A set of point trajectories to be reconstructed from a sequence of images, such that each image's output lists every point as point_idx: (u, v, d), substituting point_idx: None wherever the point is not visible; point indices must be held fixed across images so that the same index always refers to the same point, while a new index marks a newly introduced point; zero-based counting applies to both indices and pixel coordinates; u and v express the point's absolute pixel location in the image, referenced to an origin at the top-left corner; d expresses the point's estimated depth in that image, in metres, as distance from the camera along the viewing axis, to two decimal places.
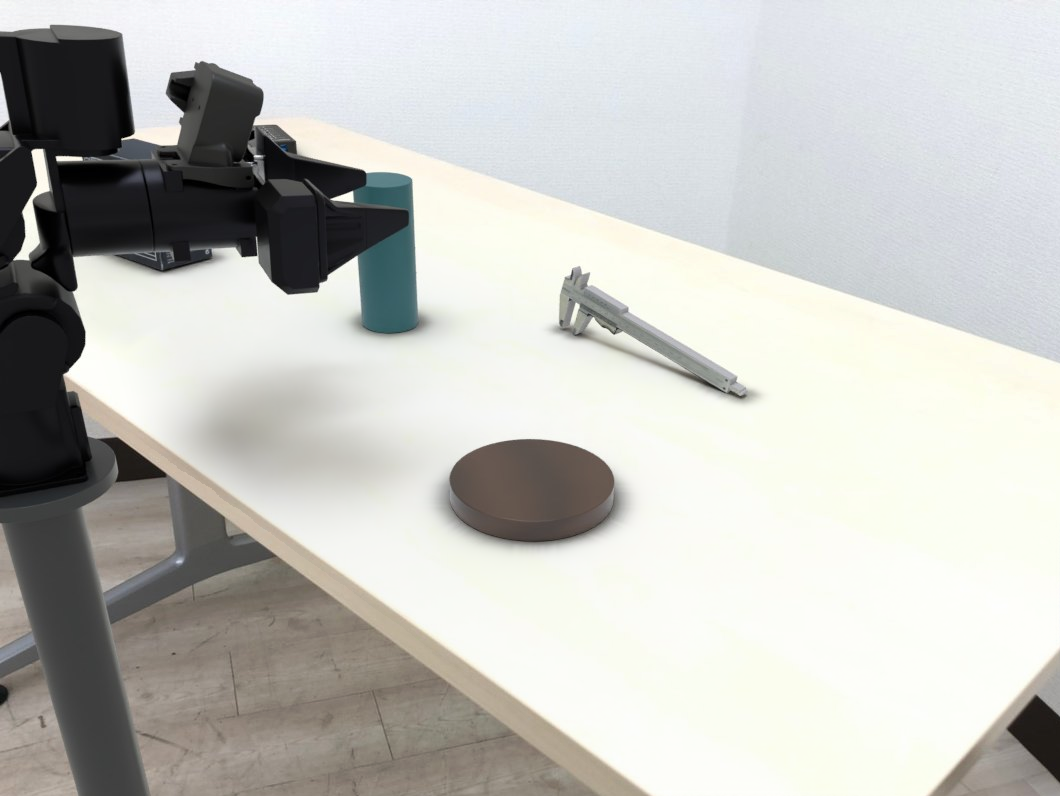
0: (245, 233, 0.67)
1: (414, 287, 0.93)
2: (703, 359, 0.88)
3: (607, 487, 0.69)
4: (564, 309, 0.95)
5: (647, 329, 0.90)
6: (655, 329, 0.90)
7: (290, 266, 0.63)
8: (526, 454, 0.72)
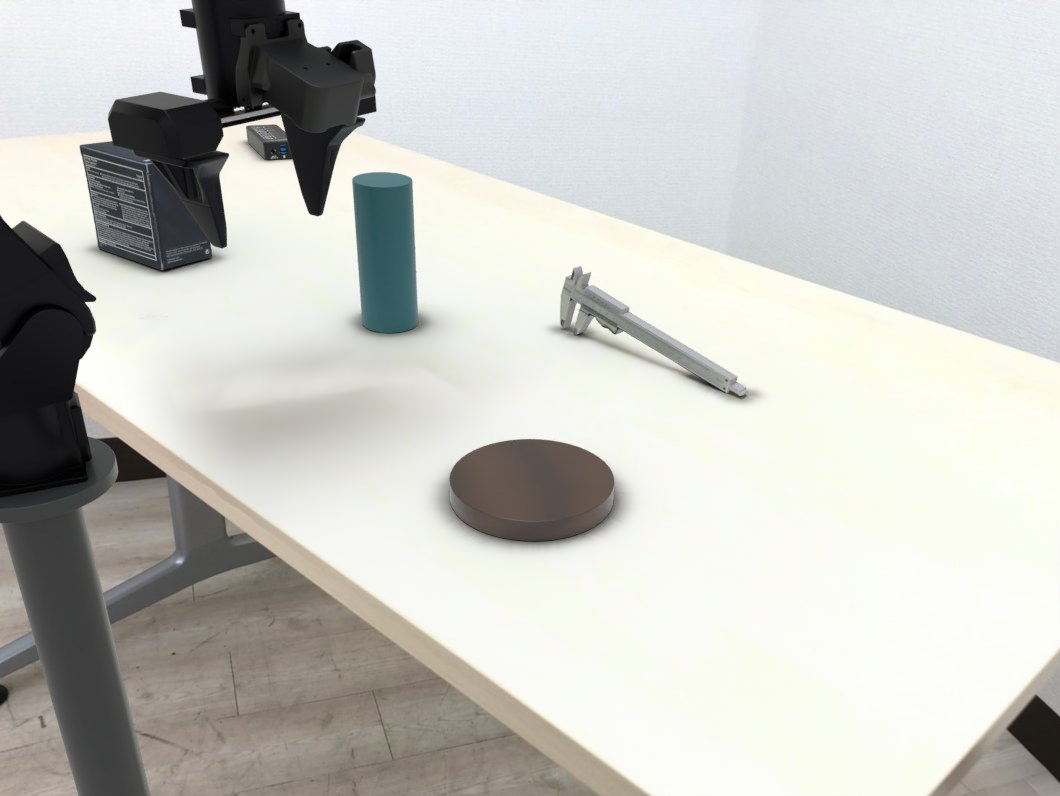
0: (206, 85, 0.69)
1: (414, 287, 0.93)
2: (703, 360, 0.88)
3: (607, 487, 0.69)
4: (565, 309, 0.95)
5: (648, 329, 0.90)
6: (656, 329, 0.90)
7: (123, 121, 0.64)
8: (526, 454, 0.72)
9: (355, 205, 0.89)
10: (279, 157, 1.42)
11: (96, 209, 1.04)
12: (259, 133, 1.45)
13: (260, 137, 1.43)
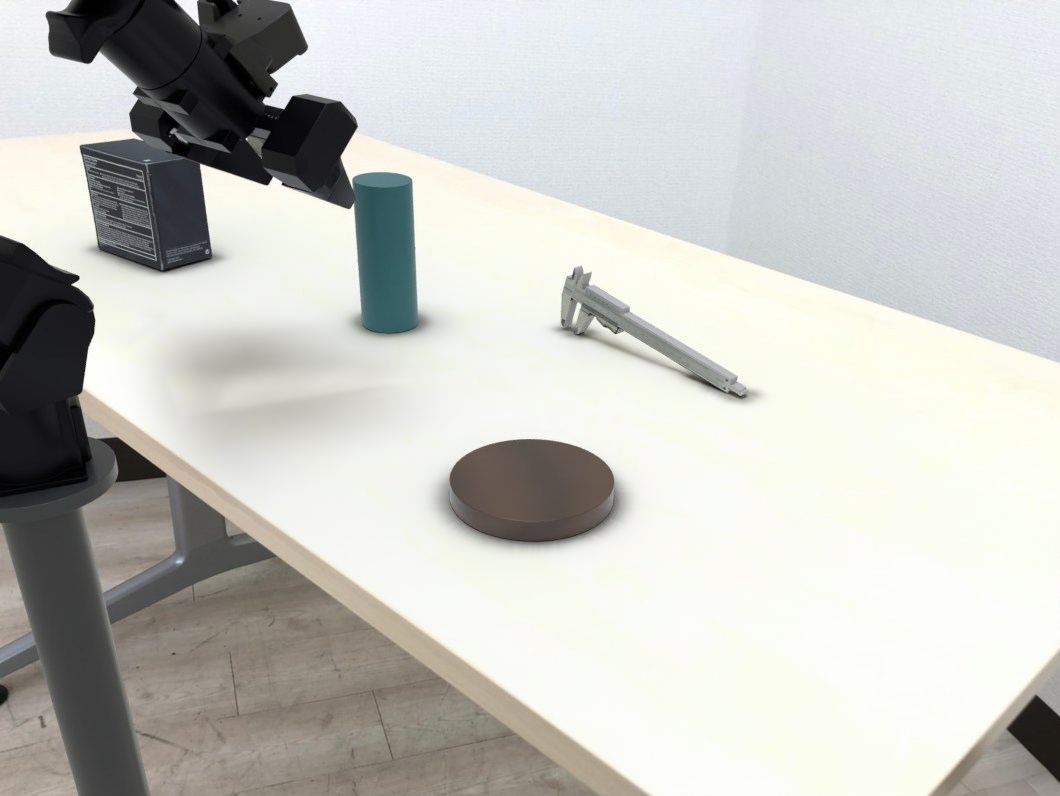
0: (238, 128, 0.72)
1: (414, 287, 0.93)
2: (703, 359, 0.88)
3: (607, 487, 0.69)
4: (566, 308, 0.95)
5: (648, 329, 0.90)
6: (656, 329, 0.90)
7: (318, 154, 0.70)
8: (526, 454, 0.72)
9: (355, 205, 0.89)
10: None
11: (96, 209, 1.04)
12: None
13: None
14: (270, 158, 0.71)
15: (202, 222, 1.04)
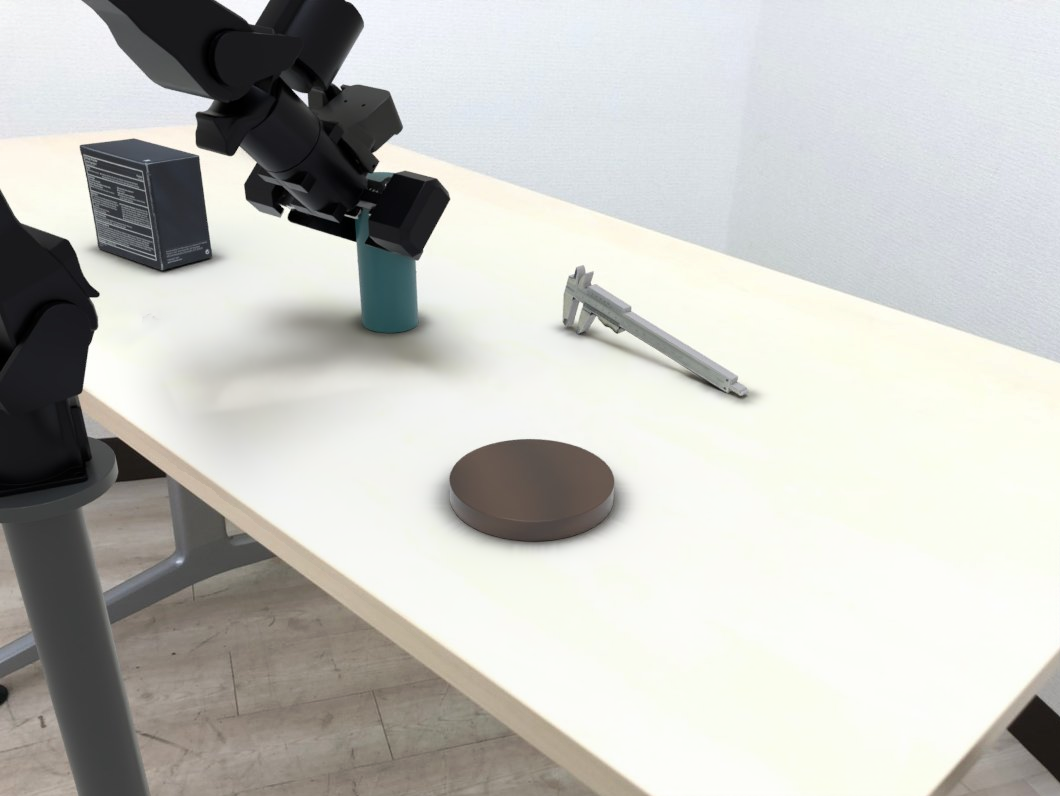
0: (346, 201, 0.83)
1: (414, 287, 0.93)
2: (704, 359, 0.88)
3: (607, 487, 0.69)
4: (568, 308, 0.96)
5: (649, 328, 0.90)
6: (657, 328, 0.90)
7: (418, 225, 0.81)
8: (526, 454, 0.72)
9: None
10: None
11: (96, 209, 1.04)
12: None
13: None
14: (376, 228, 0.81)
15: (202, 222, 1.04)
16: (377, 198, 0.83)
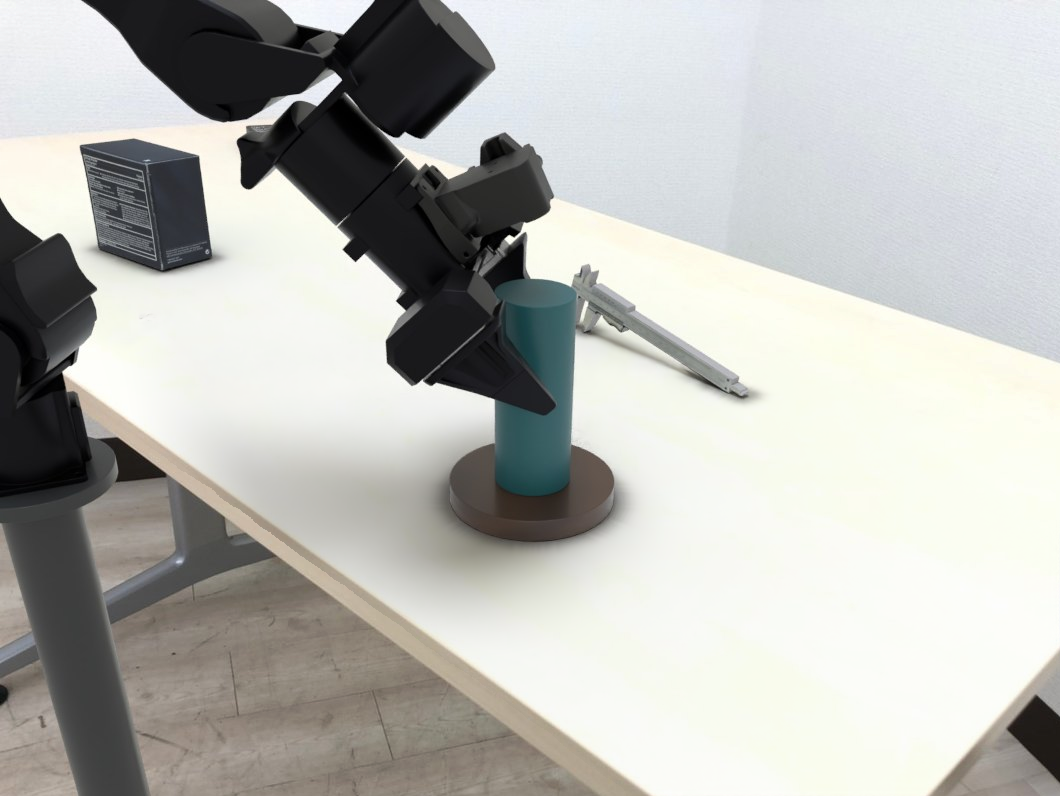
0: (418, 288, 0.61)
1: (543, 445, 0.66)
2: (706, 359, 0.88)
3: (607, 487, 0.69)
4: None
5: (652, 328, 0.90)
6: (660, 328, 0.91)
7: (412, 345, 0.55)
8: None
9: None
10: None
11: (96, 209, 1.04)
12: None
13: None
14: None
15: (202, 222, 1.04)
16: None
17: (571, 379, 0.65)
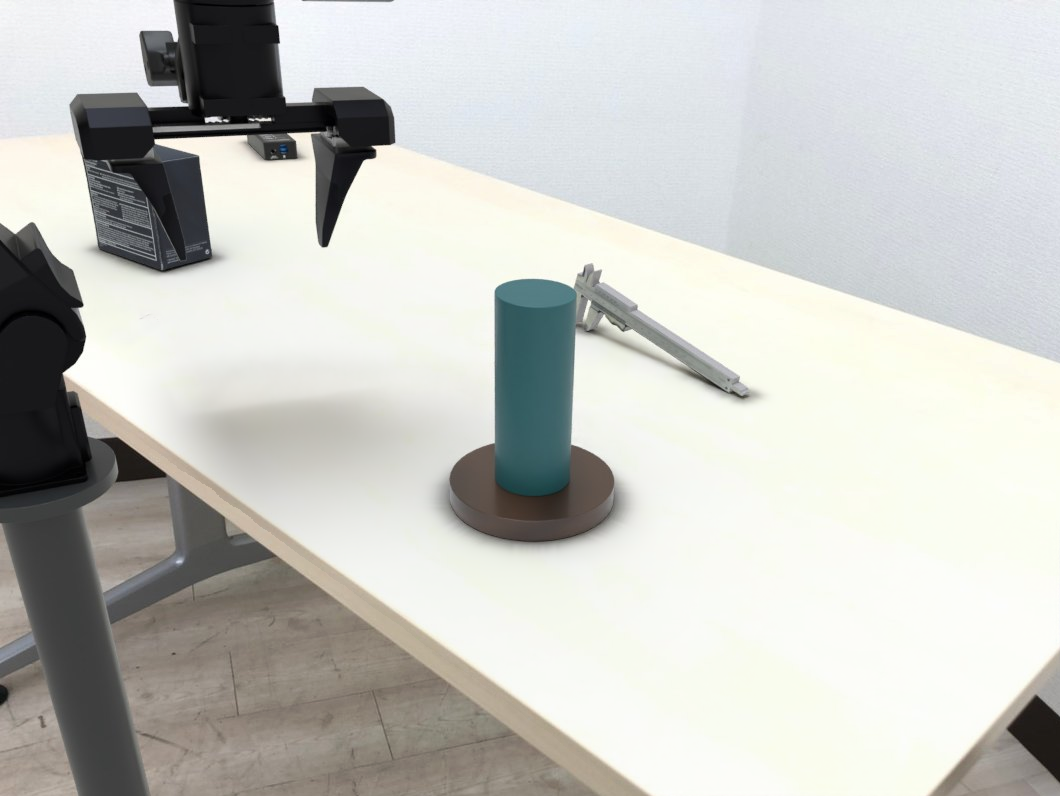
0: None
1: (543, 445, 0.66)
2: (706, 359, 0.88)
3: (607, 487, 0.69)
4: None
5: (654, 327, 0.91)
6: (662, 327, 0.91)
7: None
8: None
9: None
10: (279, 157, 1.42)
11: (96, 209, 1.04)
12: None
13: (260, 137, 1.43)
14: (348, 107, 0.67)
15: (202, 222, 1.04)
16: (311, 103, 0.68)
17: (571, 379, 0.65)
